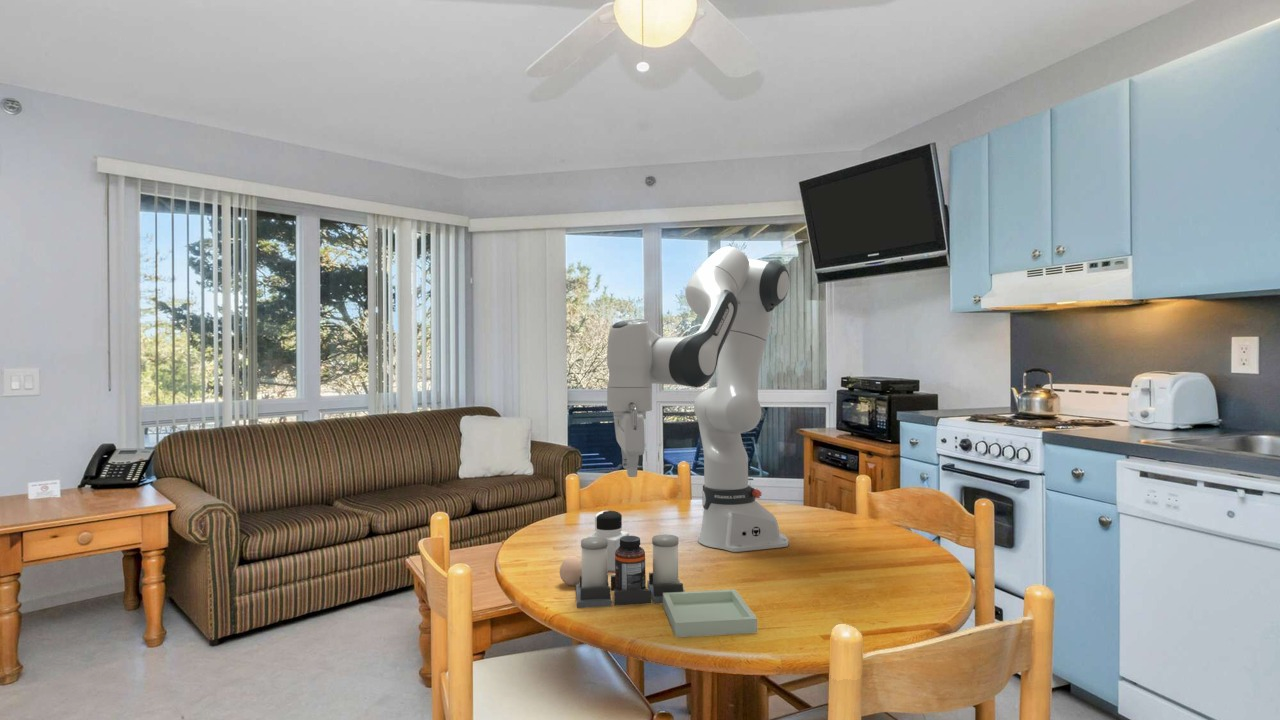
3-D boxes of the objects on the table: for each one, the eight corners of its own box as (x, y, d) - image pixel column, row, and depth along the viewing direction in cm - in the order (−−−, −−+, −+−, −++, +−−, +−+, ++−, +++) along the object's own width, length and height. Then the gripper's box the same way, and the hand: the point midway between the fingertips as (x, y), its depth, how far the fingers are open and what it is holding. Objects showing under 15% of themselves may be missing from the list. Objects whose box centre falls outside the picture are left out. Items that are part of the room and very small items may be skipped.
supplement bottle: (614, 590, 128) (614, 534, 128) (644, 589, 129) (643, 533, 129) (615, 601, 122) (615, 542, 123) (646, 600, 123) (646, 541, 123)
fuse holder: (678, 584, 132) (678, 530, 132) (687, 602, 122) (687, 544, 122) (576, 588, 129) (575, 534, 129) (577, 607, 120) (576, 548, 120)
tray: (735, 601, 122) (735, 589, 122) (757, 632, 108) (757, 618, 108) (662, 605, 120) (662, 592, 120) (675, 637, 106) (675, 622, 106)
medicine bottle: (629, 563, 146) (629, 510, 146) (615, 572, 139) (615, 517, 140) (602, 559, 149) (601, 507, 149) (586, 568, 142) (586, 514, 143)
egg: (556, 582, 133) (556, 554, 133) (580, 579, 135) (580, 551, 135) (563, 590, 129) (563, 561, 129) (587, 587, 131) (587, 558, 131)
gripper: (652, 405, 116) (652, 481, 116) (639, 398, 136) (639, 463, 136) (618, 405, 115) (618, 482, 115) (609, 399, 135) (609, 464, 135)
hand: (629, 472), depth 126 cm, fingers open, 8 cm apart
